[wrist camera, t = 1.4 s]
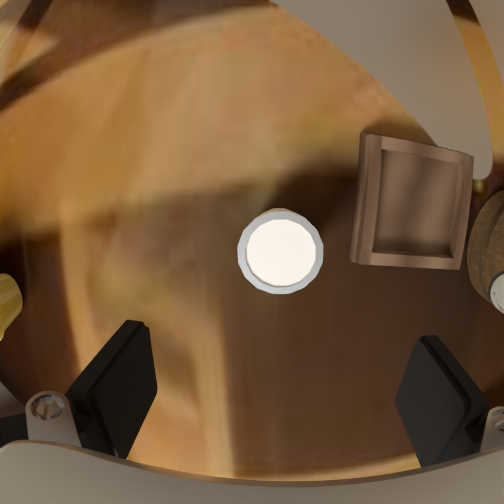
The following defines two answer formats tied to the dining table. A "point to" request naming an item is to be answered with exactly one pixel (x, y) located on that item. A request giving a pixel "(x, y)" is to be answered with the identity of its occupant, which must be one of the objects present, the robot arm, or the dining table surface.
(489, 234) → the wooden container
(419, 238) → the square wooden tray
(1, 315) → the plant pot
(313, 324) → the dining table surface
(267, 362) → the dining table surface
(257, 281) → the white cup
